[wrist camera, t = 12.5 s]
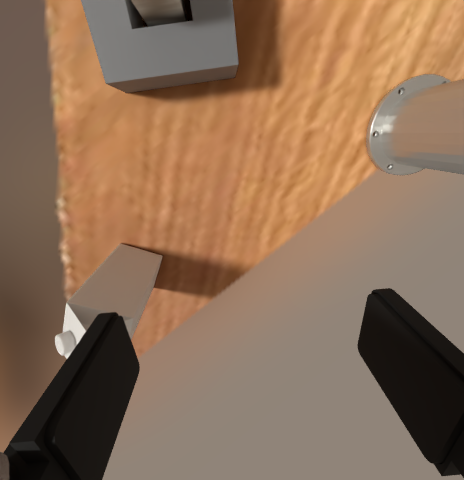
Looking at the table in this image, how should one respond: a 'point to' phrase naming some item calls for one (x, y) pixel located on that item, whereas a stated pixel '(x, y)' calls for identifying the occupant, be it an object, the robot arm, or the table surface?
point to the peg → (161, 11)
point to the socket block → (162, 45)
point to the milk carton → (111, 294)
